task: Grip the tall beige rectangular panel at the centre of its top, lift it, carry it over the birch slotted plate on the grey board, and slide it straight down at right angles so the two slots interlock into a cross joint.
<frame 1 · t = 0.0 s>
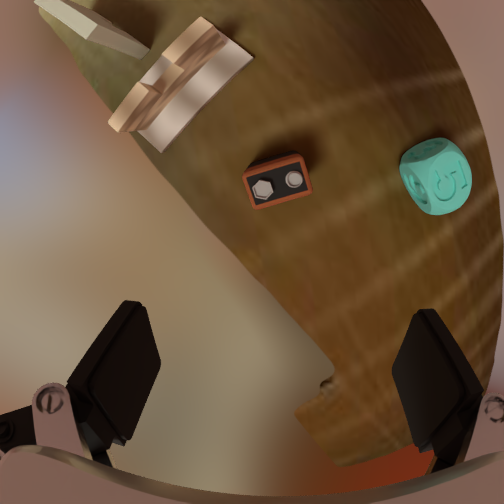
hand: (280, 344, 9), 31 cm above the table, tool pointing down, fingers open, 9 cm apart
beige rectangular panel: (115, 32, 28), on the table
battery: (277, 171, 37), on the table
decorative dice: (422, 170, 35), on the table
stand: (181, 83, 32), on the table
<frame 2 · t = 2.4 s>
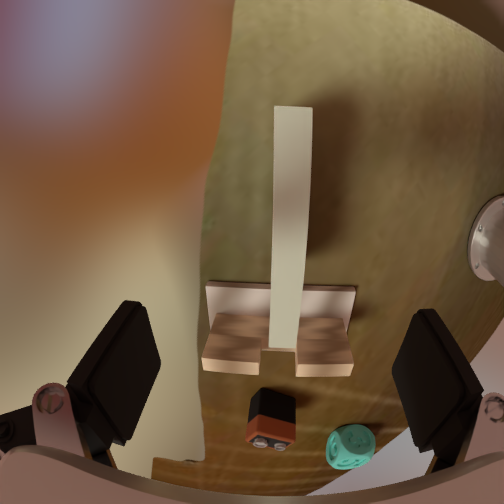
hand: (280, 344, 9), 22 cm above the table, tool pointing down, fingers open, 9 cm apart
beige rectangular panel: (285, 194, 29), on the table
battery: (273, 397, 44), on the table
decorative dice: (348, 431, 48), on the table
stand: (279, 317, 36), on the table
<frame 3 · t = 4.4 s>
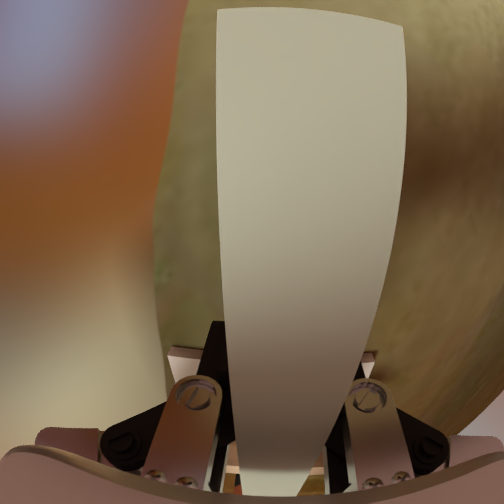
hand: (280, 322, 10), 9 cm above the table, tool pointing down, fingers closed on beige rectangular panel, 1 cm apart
beige rectangular panel: (279, 235, 18), on the table, touching gripper
stand: (269, 388, 25), on the table
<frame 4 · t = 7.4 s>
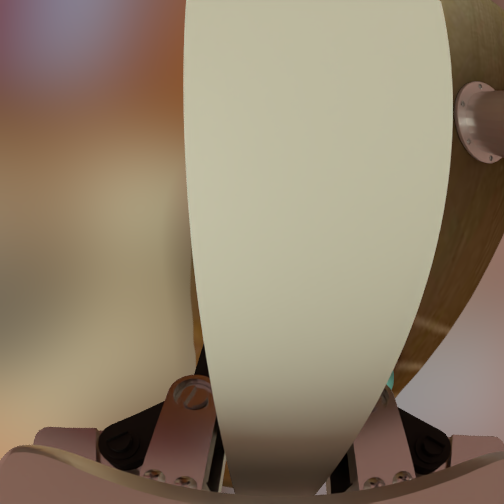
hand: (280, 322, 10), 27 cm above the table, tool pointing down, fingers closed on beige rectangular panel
beige rectangular panel: (279, 241, 17), point 19 cm above the table, touching gripper
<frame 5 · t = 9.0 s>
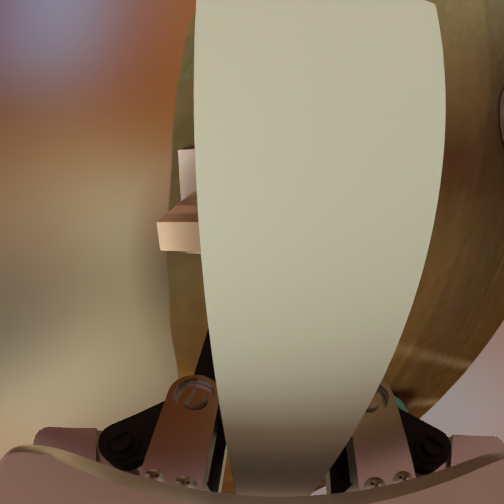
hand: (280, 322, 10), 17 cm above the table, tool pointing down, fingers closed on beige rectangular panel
beige rectangular panel: (279, 239, 17), point 9 cm above the table, touching gripper
stand: (280, 201, 25), on the table
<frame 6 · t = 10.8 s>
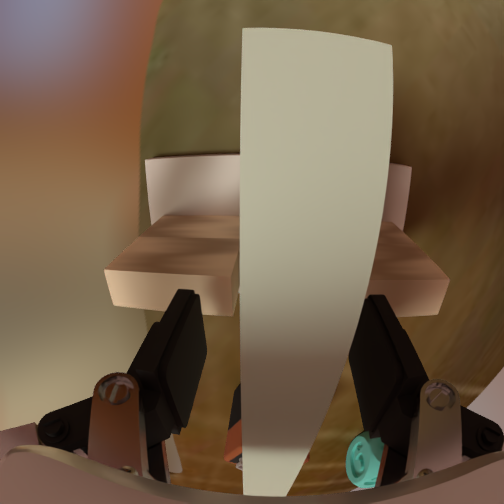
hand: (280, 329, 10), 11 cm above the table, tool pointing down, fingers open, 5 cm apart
beige rectangular panel: (279, 230, 19), point 1 cm above the table, touching stand
battery: (270, 388, 28), on the table
decorative dice: (376, 435, 32), on the table
stand: (278, 224, 20), on the table
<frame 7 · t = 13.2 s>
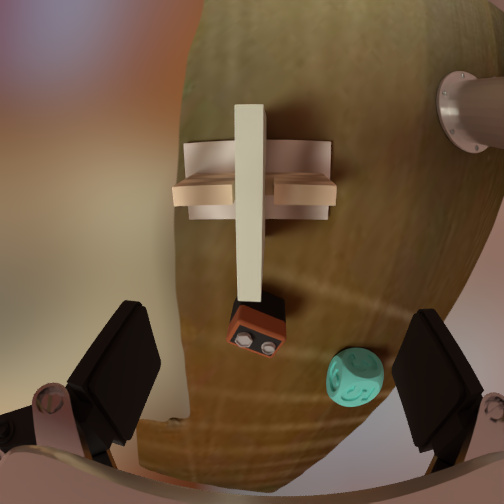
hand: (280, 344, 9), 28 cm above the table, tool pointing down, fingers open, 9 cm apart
beige rectangular panel: (257, 180, 34), point 1 cm above the table, touching stand
battery: (259, 300, 43), on the table
decorative dice: (349, 361, 47), on the table
stand: (257, 178, 35), on the table
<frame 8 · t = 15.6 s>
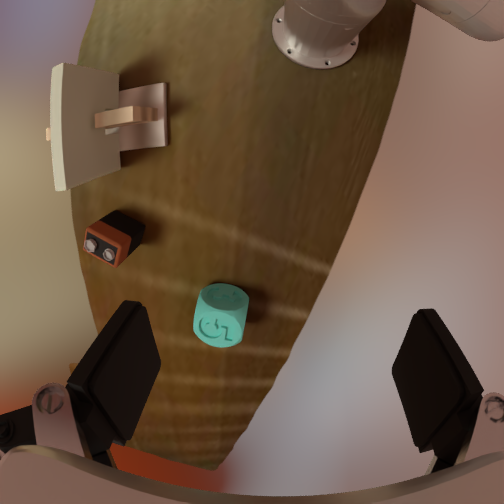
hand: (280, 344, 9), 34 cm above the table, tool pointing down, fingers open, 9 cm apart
beige rectangular panel: (113, 121, 37), point 1 cm above the table, touching stand
battery: (127, 226, 46), on the table
decorative dice: (225, 301, 50), on the table
stand: (116, 121, 38), on the table
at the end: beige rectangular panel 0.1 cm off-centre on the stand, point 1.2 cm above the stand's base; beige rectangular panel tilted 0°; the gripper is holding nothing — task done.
